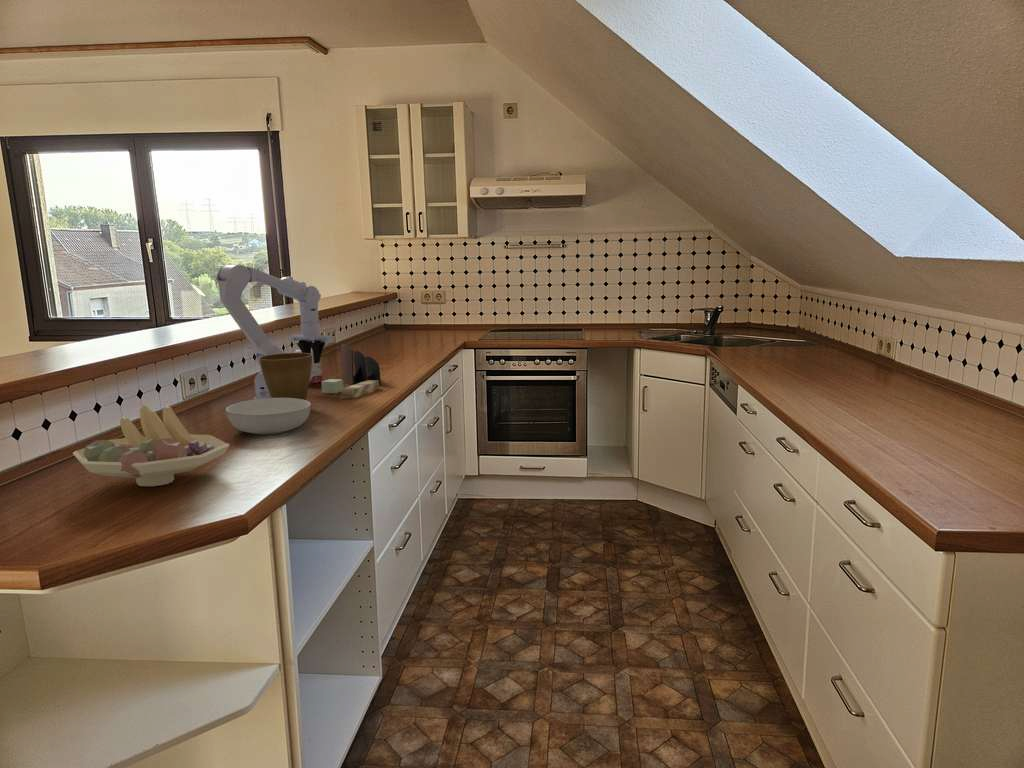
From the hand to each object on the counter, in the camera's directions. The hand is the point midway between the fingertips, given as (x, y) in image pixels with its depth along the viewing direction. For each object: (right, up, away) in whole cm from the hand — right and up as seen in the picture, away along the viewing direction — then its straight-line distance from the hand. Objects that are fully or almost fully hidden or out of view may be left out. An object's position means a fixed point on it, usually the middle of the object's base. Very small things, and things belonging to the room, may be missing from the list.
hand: (312, 362), depth 235 cm
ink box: (-6, -7, +17) cm, 19 cm away
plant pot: (0, -15, -26) cm, 30 cm away
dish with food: (-6, -27, -92) cm, 96 cm away
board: (+17, -10, -5) cm, 20 cm away
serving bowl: (+4, -20, -51) cm, 55 cm away
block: (+7, -10, -1) cm, 12 cm away
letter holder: (+13, -7, +16) cm, 21 cm away
